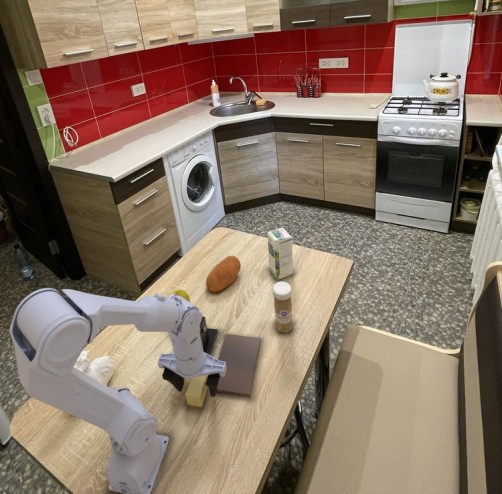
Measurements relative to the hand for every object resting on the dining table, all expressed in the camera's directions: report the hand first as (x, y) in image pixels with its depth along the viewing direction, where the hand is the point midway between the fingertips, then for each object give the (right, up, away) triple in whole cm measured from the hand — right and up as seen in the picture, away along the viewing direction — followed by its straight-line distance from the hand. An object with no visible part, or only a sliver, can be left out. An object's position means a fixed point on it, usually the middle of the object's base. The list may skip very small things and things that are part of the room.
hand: (197, 389), depth 76 cm
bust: (-25, -3, +4) cm, 26 cm away
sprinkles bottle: (+20, +7, +15) cm, 26 cm away
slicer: (-2, +3, +11) cm, 12 cm away
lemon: (-8, +7, +22) cm, 24 cm away
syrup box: (+21, +15, +33) cm, 42 cm away
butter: (0, -2, +1) cm, 2 cm away
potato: (+4, +12, +32) cm, 34 cm away
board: (+8, +2, +6) cm, 11 cm away
